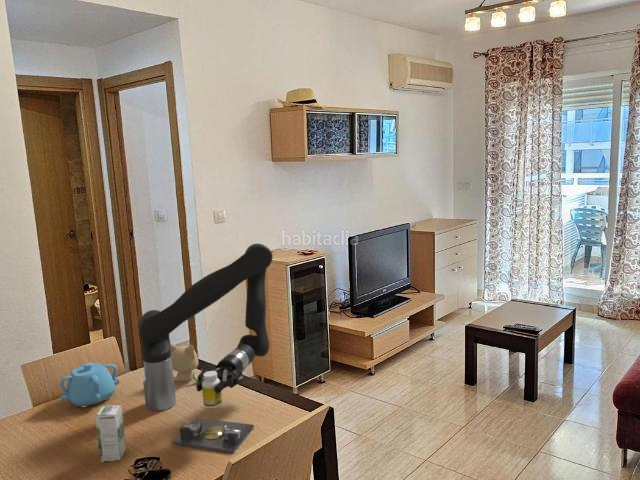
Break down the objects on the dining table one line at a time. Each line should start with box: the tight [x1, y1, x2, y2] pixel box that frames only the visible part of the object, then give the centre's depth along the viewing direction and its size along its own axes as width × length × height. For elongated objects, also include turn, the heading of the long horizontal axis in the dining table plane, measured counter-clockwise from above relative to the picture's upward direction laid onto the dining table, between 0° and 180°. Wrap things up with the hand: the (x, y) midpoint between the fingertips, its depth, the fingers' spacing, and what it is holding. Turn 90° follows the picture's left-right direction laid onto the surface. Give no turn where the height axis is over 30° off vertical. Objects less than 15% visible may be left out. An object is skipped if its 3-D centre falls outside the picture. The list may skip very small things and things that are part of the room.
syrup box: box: [94, 404, 127, 462], centre depth 147 cm, size 6×6×14 cm
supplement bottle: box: [201, 370, 223, 409], centre depth 152 cm, size 5×5×10 cm
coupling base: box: [172, 417, 255, 454], centre depth 156 cm, size 20×14×5 cm
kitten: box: [170, 342, 203, 384], centre depth 195 cm, size 15×10×15 cm
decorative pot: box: [59, 362, 120, 407], centre depth 183 cm, size 16×16×14 cm
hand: (207, 389), depth 150 cm, fingers closed on supplement bottle, 5 cm apart
